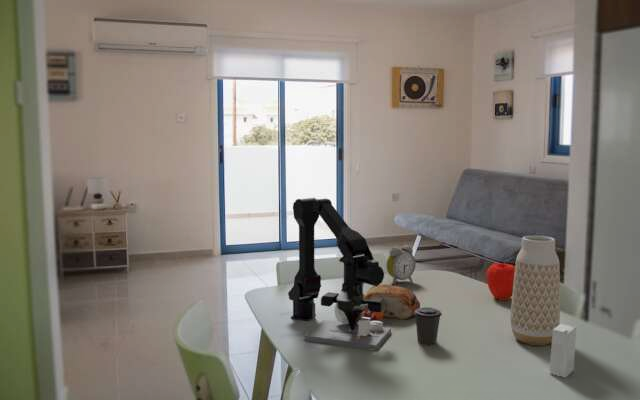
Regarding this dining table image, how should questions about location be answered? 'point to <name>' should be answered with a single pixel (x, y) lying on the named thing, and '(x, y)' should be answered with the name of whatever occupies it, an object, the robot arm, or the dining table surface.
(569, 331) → the skincare box
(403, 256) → the alarm clock
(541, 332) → the vase
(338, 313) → the coffee cup
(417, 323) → the coffee cup
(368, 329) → the fader
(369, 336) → the console
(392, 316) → the bread
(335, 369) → the dining table surface
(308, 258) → the robot arm
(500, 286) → the apple
